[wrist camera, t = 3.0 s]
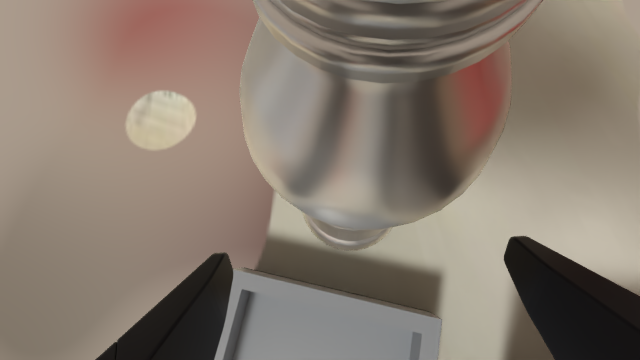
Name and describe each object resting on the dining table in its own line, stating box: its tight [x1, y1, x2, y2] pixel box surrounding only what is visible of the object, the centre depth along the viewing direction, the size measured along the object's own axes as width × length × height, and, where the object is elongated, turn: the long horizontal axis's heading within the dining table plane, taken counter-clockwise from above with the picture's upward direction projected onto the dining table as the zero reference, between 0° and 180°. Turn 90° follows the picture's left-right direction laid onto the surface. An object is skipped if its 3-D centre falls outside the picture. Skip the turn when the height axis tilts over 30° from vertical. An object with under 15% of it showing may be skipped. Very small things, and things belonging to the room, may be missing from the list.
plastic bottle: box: [240, 0, 543, 251], centre depth 12 cm, size 6×7×20 cm
